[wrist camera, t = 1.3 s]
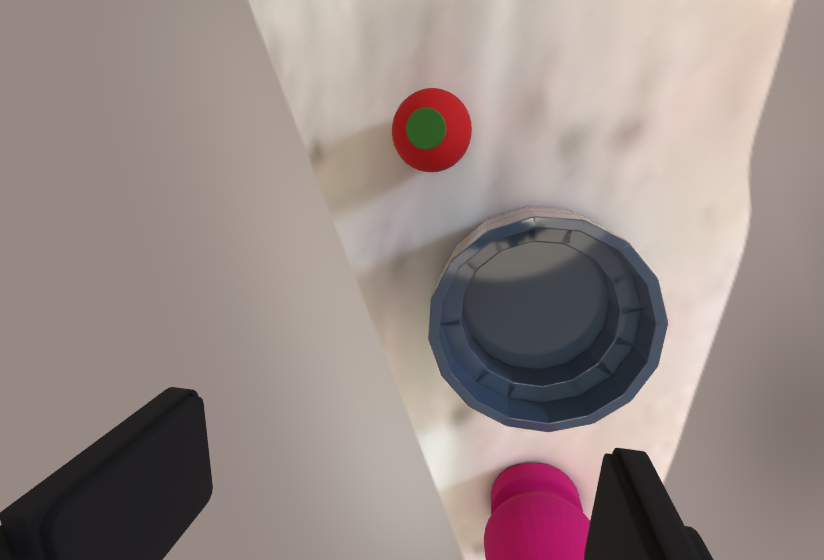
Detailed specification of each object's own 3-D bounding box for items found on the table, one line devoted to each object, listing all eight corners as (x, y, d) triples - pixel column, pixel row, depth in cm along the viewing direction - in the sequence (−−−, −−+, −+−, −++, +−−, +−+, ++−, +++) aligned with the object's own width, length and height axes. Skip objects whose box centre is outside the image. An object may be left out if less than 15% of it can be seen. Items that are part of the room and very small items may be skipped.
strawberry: (401, 92, 26) (384, 79, 22) (476, 95, 26) (473, 82, 21) (398, 168, 27) (381, 171, 23) (469, 173, 27) (465, 176, 22)
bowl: (445, 199, 27) (437, 208, 23) (653, 214, 26) (691, 227, 21) (432, 374, 31) (422, 414, 26) (615, 398, 29) (640, 445, 24)
